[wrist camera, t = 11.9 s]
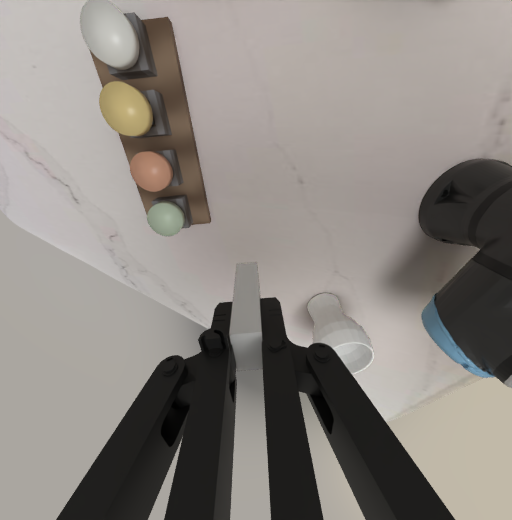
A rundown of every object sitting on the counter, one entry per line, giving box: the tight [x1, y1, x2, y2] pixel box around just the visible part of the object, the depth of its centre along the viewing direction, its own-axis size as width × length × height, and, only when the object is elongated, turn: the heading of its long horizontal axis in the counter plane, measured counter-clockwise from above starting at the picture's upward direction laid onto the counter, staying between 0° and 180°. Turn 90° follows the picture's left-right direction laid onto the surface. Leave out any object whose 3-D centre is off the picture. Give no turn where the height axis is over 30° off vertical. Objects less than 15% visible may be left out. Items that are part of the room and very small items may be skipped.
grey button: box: [80, 0, 139, 70], centre depth 25 cm, size 5×5×5 cm
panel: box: [90, 13, 211, 228], centre depth 33 cm, size 27×11×4 cm, turn 5°
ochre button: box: [99, 81, 155, 136], centre depth 27 cm, size 5×5×5 cm
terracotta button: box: [130, 151, 173, 192], centre depth 32 cm, size 5×5×5 cm
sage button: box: [147, 201, 185, 236], centre depth 35 cm, size 5×5×5 cm
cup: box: [307, 293, 374, 374], centre depth 45 cm, size 11×11×15 cm
